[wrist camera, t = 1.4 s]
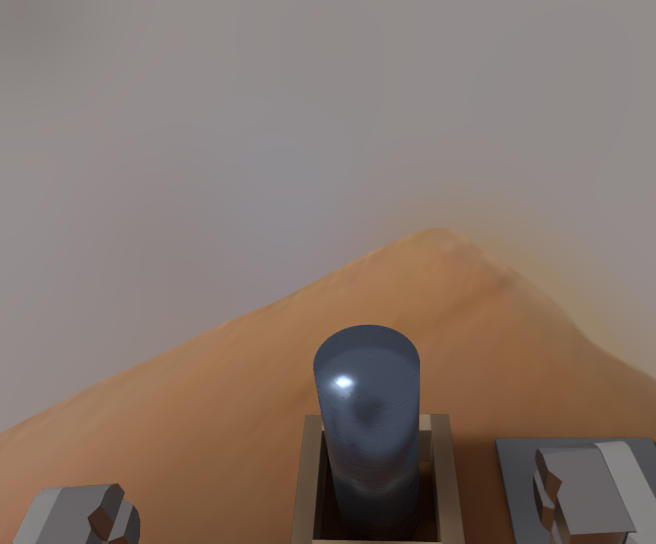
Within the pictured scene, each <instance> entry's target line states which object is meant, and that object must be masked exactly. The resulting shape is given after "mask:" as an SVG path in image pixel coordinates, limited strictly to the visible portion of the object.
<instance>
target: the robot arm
mask: <svg viewBox="0 0 656 544" xmlns="http://www.w3.org/2000/svg"><path fill="white" fill-rule="evenodd" d="M535 462H536V465H537V468H538V470H537V471H536V472H534V473H533V492H534V500H535V504H536V508H537V512H538V515H539V519H540V522H541V525H542V526H543V527H544V528H546V529H547V530H548V531H549V532H550V533H551V535H550V543H549V544H656V497H655V495H654V493H653V491H652V489H651V487H650V486H649V484H648V482H647V480H646V478H645V476H644V474H643V472H642V470H641V468H640V466H639V464H638V462H637V460H636V458H635V456H634V454H633V452H632V450H631V448H630V447H629V446H628V445H627V444H626V443H625V442H624V441H612V442H601V443H584V444H574V445H564V446H554V447H544V448H538V449H537V450H536V453H535ZM124 493H125V492H124V491H123V489H122V488H121V487H120V486H119V484H118V483H115V484H102V485H89V486H76V487H59V488H48V489H42V490H41V491H40V492H39V493H38V494H37V495H36V496H35V498H34V499H33V501H32V503H31V505H30V507H29V510H28V512H27V514H26V516H25V518H24V520H23V522H22V524H21V526H20V528H19V530H18V532H17V534H16V536H15V538H14V540H13V542H12V544H138V541H139V537H140V518H139V514H138V511H137V510H136V508H135V506H134V505H133V504H131V503H129V502H127V501H125V500H123V496H124Z"/></svg>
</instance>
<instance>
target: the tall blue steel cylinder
mask: <svg viewBox="0 0 656 544" xmlns="http://www.w3.org/2000/svg"><path fill="white" fill-rule="evenodd" d="M313 369H314V376H315V381H316V387H317V393H318V398H319V404H320V409H321V415H322V421H323V426H324V432H325V438H326V443H327V449H328V455H329V460H330V466H331V472H332V477H333V483H334V488H335V494H336V500H337V505H338V511H339V517H340V522H341V525H342V527H343V530H344V531H345V533H346V534H347V536H348V537H349V538H350V539H351V540H352V541H398V542H406V541H407V540H408V539H409V538H410V537H411V536H412V534H413V533H414V531H415V529H416V526H417V523H418V517H419V402H420V360H419V355H418V352H417V350H416V348H415V346H414V345H413V344H412V342H411V341H410V340H409V339H408V338H406V337H405V336H404V335H403V334H401V333H399V332H397V331H395V330H393V329H390V328H387V327H383V326H378V325H359V326H353V327H349V328H346V329H344V330H341V331H339V332H337V333H335V334H334V335H332V336H331V337H329V338H328V339H327V340H326V341H325V342H324V343H323V344H322V345H321V346H320V348H319V349H318V351H317V353H316V356H315V359H314V366H313Z"/></svg>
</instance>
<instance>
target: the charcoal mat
mask: <svg viewBox="0 0 656 544" xmlns="http://www.w3.org/2000/svg"><path fill="white" fill-rule="evenodd" d="M612 441H624V442H625V443H626V444H627V445H628V446H629V447H630V448H631V450H632V452H633V454H634V456H635V458H636V460H637V462H638V464H639V466H640V468H641V470H642V472H643V474H644V476H645V478H646V480H647V482H648V484H649V486H650V487H651V489H652V491H653V493H654V495H655V497H656V447H655V445H654V443H653V440H652V438H496V439H495V443H496V448H497V453H498V458H499V463H500V469H501V474H502V479H503V484H504V489H505V494H506V499H507V504H508V509H509V514H510V519H511V524H512V529H513V535H514V540H515V544H549V543H550V535H551V533H550V532H549V531H548V530H547V529H546V528H544V527H543V526H542V525H541V522H540V519H539V515H538V512H537V508H536V504H535V500H534V492H533V473H534V472H536V471H537V470H538V468H537V465H536V462H535V453H536V450H537V449H538V448H544V447H554V446H564V445H574V444H584V443H601V442H612Z"/></svg>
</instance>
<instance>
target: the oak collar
mask: <svg viewBox="0 0 656 544" xmlns="http://www.w3.org/2000/svg"><path fill="white" fill-rule="evenodd" d="M327 461H330V460H329V455H328V449H327V443H326V438H325V432H324V426H323V421H322V415H305V423H304V432H303V440H302V449H301V457H300V466H299V474H298V483H297V491H296V500H295V509H294V517H293V526H292V534H291V543H290V544H465V540H464V532H463V524H462V516H461V508H460V500H459V492H458V484H457V477H456V469H455V461H454V453H453V445H452V437H451V429H450V421H449V414H419V461H430V462H431V473H432V485H433V496H434V507H435V519H436V530H437V541H438V542H398V541H348V540H322V526H323V513H324V499H325V486H326V472H327Z"/></svg>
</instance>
